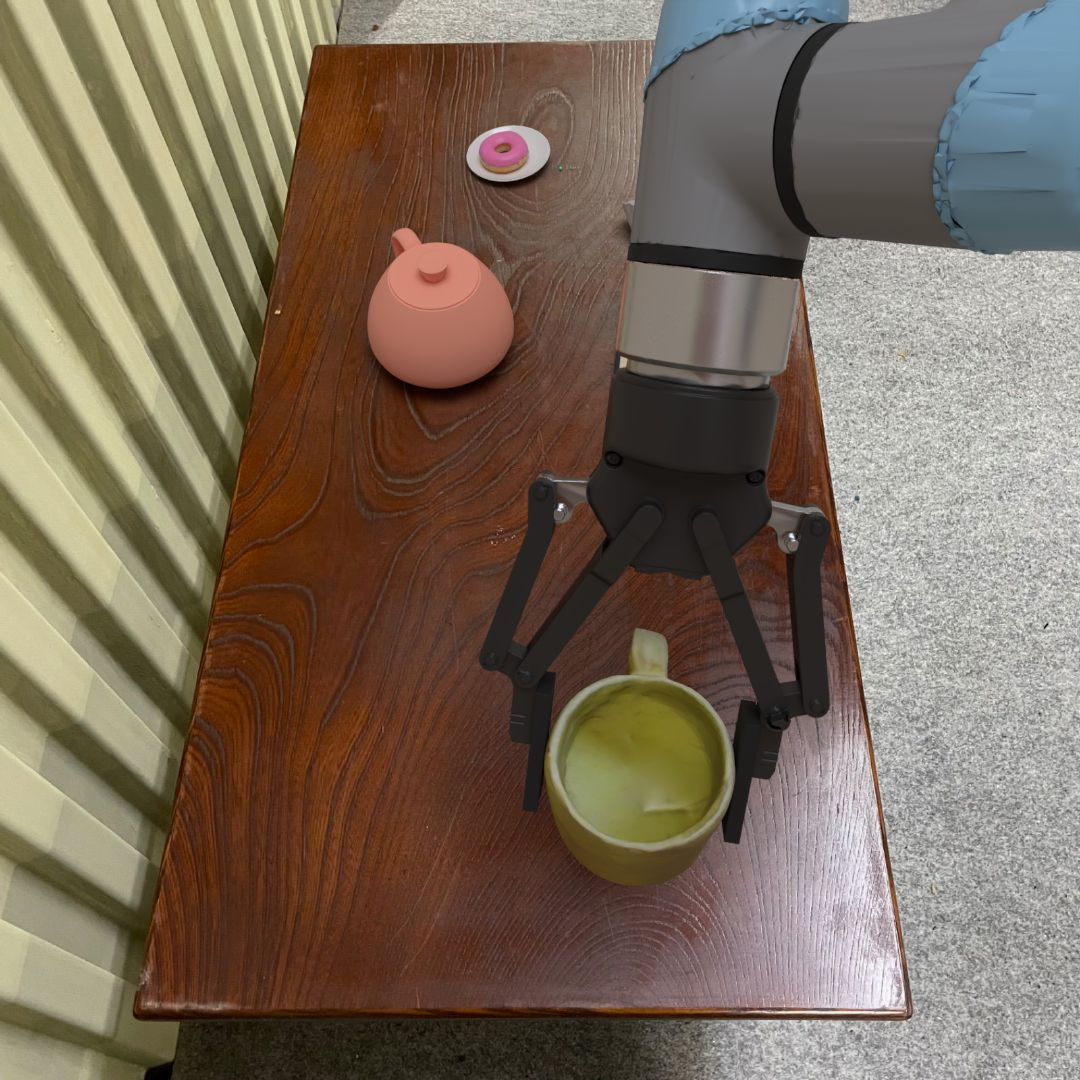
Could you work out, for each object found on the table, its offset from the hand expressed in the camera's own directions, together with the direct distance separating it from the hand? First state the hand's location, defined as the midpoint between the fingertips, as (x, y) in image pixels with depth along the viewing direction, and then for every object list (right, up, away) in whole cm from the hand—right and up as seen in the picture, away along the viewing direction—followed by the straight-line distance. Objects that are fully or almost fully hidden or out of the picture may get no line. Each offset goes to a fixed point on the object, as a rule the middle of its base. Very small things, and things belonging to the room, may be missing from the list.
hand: (630, 812), depth 48 cm
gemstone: (+6, +42, +40) cm, 58 cm away
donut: (-6, +51, +45) cm, 69 cm away
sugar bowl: (-13, +31, +34) cm, 48 cm away
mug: (+1, +1, +5) cm, 5 cm away
